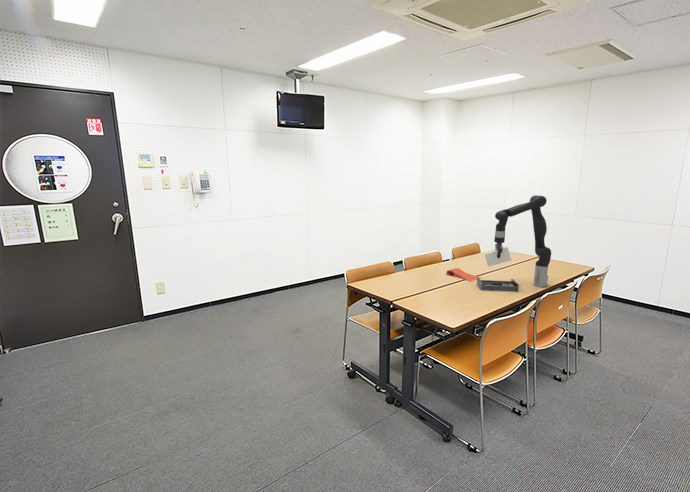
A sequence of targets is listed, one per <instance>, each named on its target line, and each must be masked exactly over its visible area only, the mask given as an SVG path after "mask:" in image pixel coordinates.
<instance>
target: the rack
mask: <svg viewBox="0 0 690 492" xmlns="http://www.w3.org/2000/svg"><path fill="white" fill-rule="evenodd" d="M502 284H512V285H513V286H502ZM476 286H477V287H478V288H479V289H480V291H494V292H495V291H496V292H515V293H518V292H519V290H520V289H519V288H520V284H519V283H518V282H516V280H514V279H513V278H511V279H510V280H491V279H490V280H489V279H487V280H486V279H481V278H477V280H476Z"/></svg>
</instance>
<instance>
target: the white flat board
mask: <svg viewBox="0 0 690 492" xmlns="http://www.w3.org/2000/svg"><path fill="white" fill-rule="evenodd" d="M499 252H500V251H499ZM510 253H511V252H510V249H509V247H508V246H505V247H503V250H502V253H500V258H497V250H495V249H494V250H492V251H488V252H484V258H485V261H486V263H487V267H492V266H495V265H500V264H503V263H506V262H510V261H512V257H511V254H510Z"/></svg>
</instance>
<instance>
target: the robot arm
mask: <svg viewBox="0 0 690 492" xmlns="http://www.w3.org/2000/svg"><path fill="white" fill-rule="evenodd" d="M546 204H547V198H546V196H543V195H532V196H530V199H529V201H528V202H525V203H520V204H517V205H514V206H511V207H509V208H507V209H502V210H499V211H497V212H496V213H495V214H494V217H495V219H496V220H498V223H496V225H495V231H494V232H495V233H494V239H493V240H494V242H495V244H494V245H495V249H494V250H497V258H500V253H502V250H503V248H504V247H503V244H504V243H505V241H506V240H505V239H506V226H507V223H508V220H509V217H510V218H511V217H514V216H517V215H520V214H522V213H525V212H527V211H531V215H532V216H531V217H532V225H533V235H534V252H535V254H536V256H538V260H537V261H535V266H534V275H533V283H532V285H533V286H534V287H538V288H547V287H548V281H549V280H548V279H549V275H548V270H549V265H550V262H551V258H552V250H551V249H550V247H547V246H546V244H545V237H546V234H547V229H548V227H547V222H546V221H547V220H546V219H545V217H544V216H543V214H542V211H541V209H542V207H544V206H545V205H546ZM499 251H500V252H499Z"/></svg>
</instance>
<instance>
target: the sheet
mask: <svg viewBox="0 0 690 492" xmlns="http://www.w3.org/2000/svg"><path fill="white" fill-rule="evenodd" d="M445 272H446V275H448V276H450V277H453V278H459V279H462V280H464V281H467V282H469V283H472V282H473V281H477V278H479V279H482V278H483V277H482V276H478V275H474V274H471V273H468V272H465V271H464V270H462V269H461V268H459V267H455V268H452V269H449V270H447V271H445Z"/></svg>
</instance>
